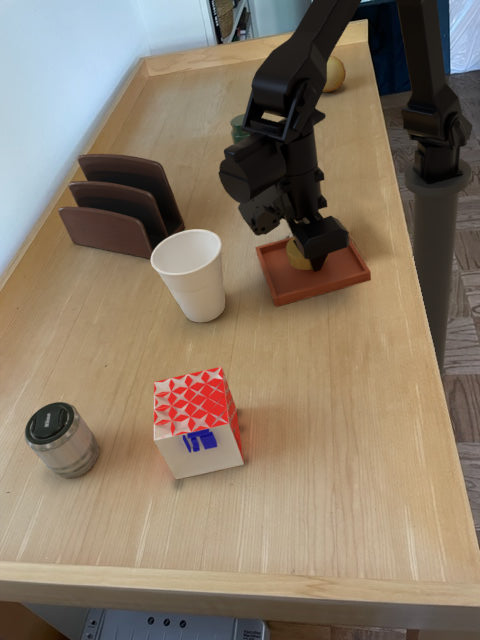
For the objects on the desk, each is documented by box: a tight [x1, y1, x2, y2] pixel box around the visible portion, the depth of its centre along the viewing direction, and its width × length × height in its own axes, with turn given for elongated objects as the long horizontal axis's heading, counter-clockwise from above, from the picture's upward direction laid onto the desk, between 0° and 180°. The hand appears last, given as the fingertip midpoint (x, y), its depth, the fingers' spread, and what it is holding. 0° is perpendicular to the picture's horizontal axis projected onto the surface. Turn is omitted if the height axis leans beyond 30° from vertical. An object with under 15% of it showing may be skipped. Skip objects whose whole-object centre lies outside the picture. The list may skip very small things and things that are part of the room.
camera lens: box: [24, 401, 100, 479], centre depth 62 cm, size 6×6×8 cm
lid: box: [286, 236, 329, 270], centre depth 79 cm, size 6×6×2 cm
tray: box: [254, 236, 372, 307], centre depth 81 cm, size 14×13×2 cm
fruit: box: [322, 54, 347, 93], centre depth 123 cm, size 8×8×8 cm
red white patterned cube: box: [153, 366, 245, 480], centre depth 60 cm, size 8×8×8 cm
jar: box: [229, 113, 250, 145], centre depth 103 cm, size 6×6×11 cm
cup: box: [150, 228, 226, 323], centre depth 76 cm, size 10×10×11 cm
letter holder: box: [57, 153, 186, 260], centre depth 94 cm, size 10×20×14 cm, turn 61°
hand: (309, 258), depth 80 cm, fingers closed on lid, 6 cm apart
